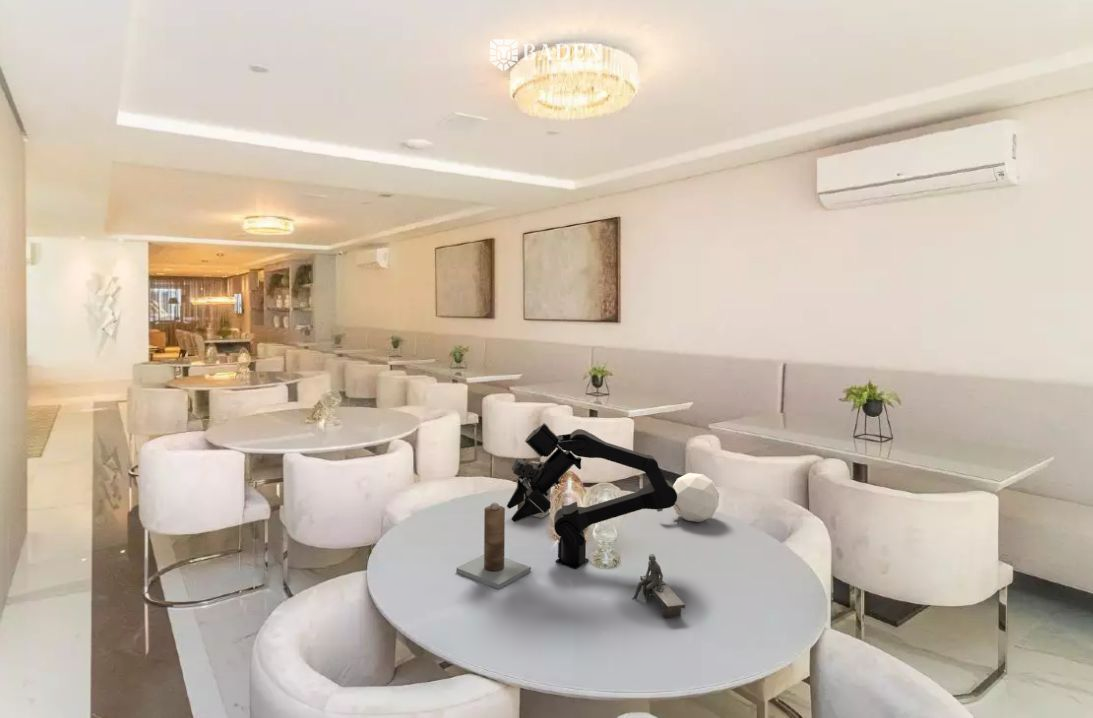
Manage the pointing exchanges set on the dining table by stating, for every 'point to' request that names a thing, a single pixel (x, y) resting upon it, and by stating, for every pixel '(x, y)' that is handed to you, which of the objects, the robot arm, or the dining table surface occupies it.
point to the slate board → (493, 579)
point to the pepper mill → (494, 537)
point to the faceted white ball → (695, 497)
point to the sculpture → (659, 590)
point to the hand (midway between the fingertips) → (510, 513)
